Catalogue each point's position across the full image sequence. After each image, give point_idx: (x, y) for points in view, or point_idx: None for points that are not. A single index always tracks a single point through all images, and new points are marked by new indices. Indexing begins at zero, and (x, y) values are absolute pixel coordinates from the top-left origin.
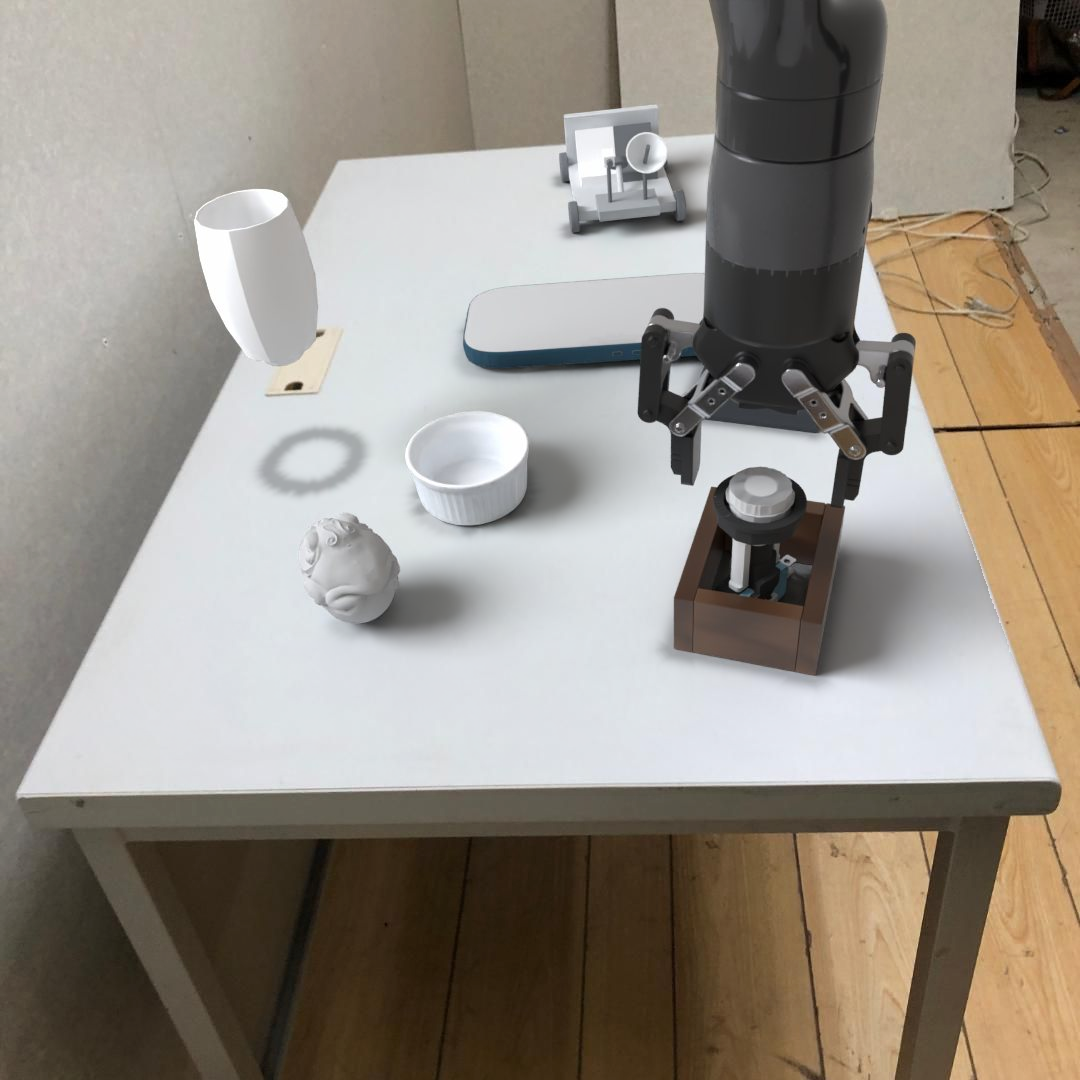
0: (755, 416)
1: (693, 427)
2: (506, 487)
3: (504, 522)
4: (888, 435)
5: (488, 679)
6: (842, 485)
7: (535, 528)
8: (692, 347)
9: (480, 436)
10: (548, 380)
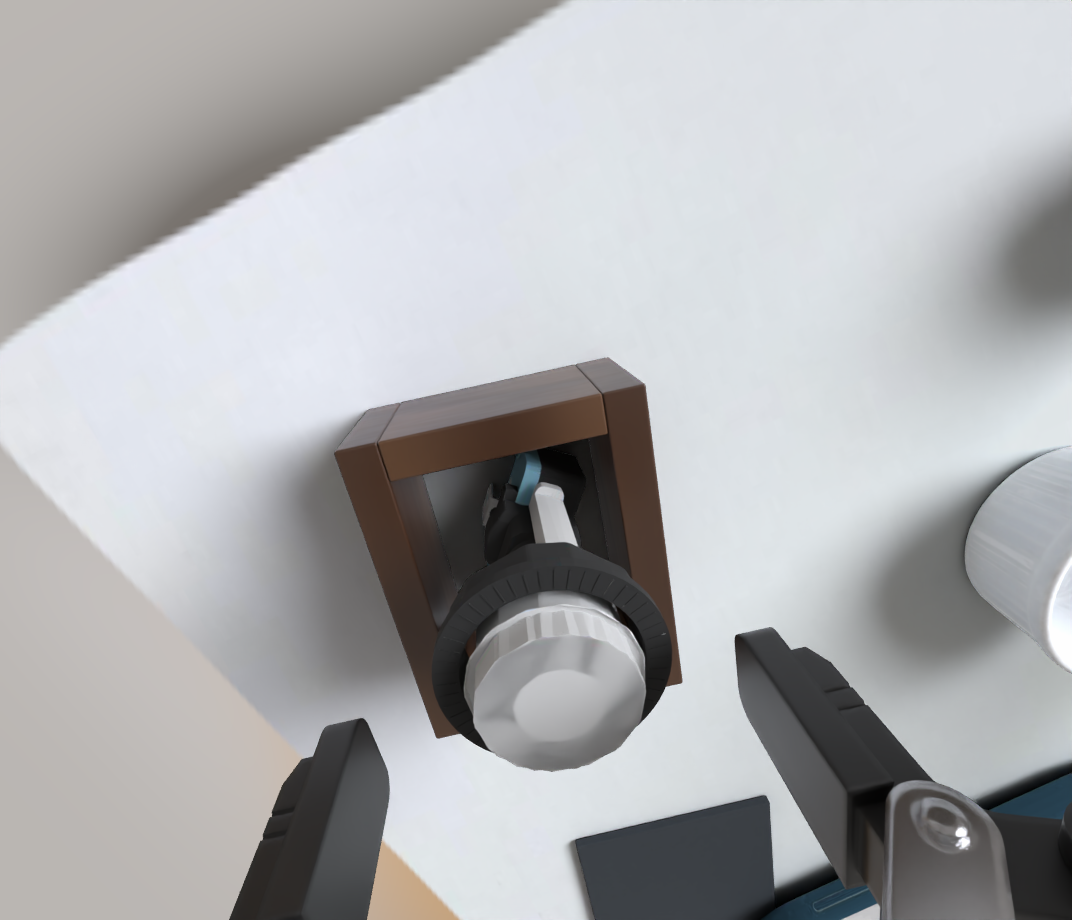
0: (668, 834)
1: (890, 849)
2: (1038, 536)
3: (977, 491)
4: None
5: (900, 128)
6: (307, 800)
7: (922, 501)
8: (807, 914)
9: None
10: (989, 777)
